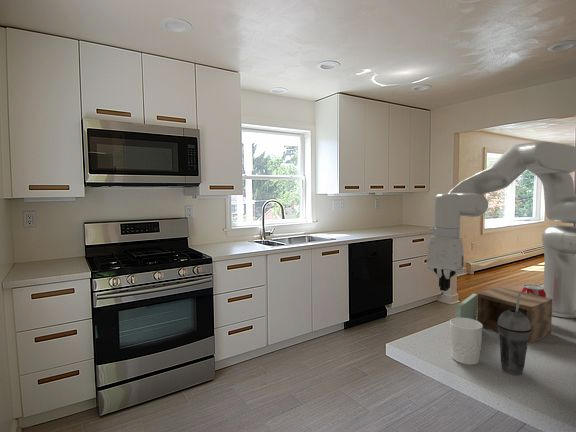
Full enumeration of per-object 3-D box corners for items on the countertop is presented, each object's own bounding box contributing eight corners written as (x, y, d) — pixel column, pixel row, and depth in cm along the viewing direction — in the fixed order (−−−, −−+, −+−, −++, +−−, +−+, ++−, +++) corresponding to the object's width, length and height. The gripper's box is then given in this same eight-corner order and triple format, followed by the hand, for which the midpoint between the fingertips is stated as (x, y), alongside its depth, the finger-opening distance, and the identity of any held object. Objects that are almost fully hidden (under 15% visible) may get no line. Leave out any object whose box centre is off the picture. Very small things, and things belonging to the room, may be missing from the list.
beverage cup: (488, 364, 92) (491, 289, 90) (515, 362, 92) (518, 288, 91) (508, 379, 85) (511, 298, 83) (537, 377, 85) (540, 297, 83)
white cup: (478, 354, 97) (479, 319, 96) (484, 368, 90) (485, 330, 89) (447, 350, 100) (448, 316, 99) (450, 363, 93) (451, 326, 92)
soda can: (549, 325, 115) (550, 290, 114) (525, 324, 117) (526, 289, 116) (538, 318, 122) (540, 284, 121) (516, 316, 124) (517, 283, 123)
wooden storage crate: (498, 317, 123) (499, 286, 122) (550, 333, 110) (552, 299, 109) (476, 325, 117) (477, 293, 116) (530, 343, 103) (531, 307, 102)
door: (477, 324, 116) (477, 293, 115) (460, 340, 104) (460, 306, 104) (469, 322, 118) (470, 292, 117) (452, 338, 106) (453, 305, 105)
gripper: (418, 231, 113) (416, 287, 115) (468, 236, 103) (465, 297, 104) (427, 229, 118) (425, 283, 120) (476, 233, 108) (473, 292, 110)
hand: (444, 289), depth 112 cm, fingers closed
